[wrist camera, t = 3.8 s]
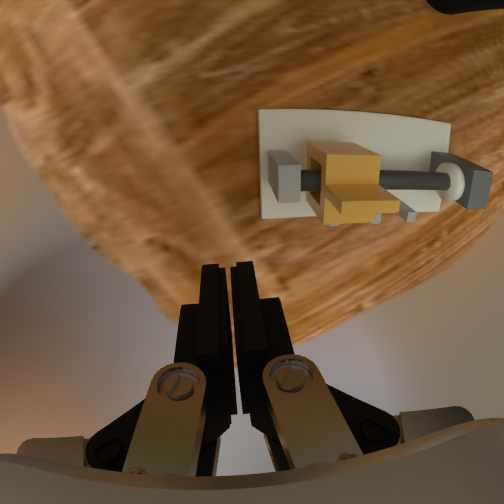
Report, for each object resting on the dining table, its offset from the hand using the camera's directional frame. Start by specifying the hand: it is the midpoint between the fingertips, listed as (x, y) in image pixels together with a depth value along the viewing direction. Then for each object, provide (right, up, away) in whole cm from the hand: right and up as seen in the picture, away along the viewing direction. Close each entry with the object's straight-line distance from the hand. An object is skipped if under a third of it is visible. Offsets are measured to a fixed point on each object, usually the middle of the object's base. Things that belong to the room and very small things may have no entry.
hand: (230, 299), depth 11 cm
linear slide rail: (+11, +10, +17) cm, 23 cm away
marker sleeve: (+7, +8, +14) cm, 18 cm away
